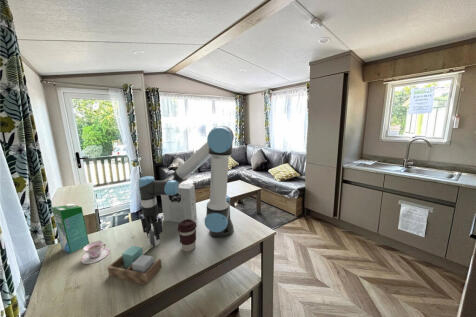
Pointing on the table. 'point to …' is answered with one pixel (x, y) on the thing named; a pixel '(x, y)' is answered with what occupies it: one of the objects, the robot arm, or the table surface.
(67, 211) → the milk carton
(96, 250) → the teacup
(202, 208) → the table surface
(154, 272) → the wooden tray
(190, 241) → the coffee cup
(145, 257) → the slate block
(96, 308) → the table surface
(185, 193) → the cereal box
